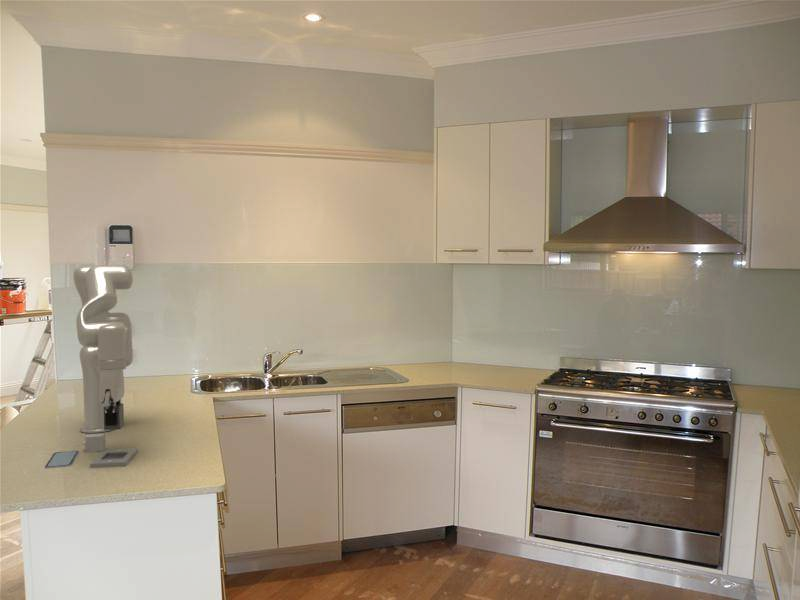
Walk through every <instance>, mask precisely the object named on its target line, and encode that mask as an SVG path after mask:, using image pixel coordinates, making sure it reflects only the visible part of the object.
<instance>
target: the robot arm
mask: <svg viewBox="0 0 800 600" xmlns="http://www.w3.org/2000/svg"><path fill="white" fill-rule="evenodd" d="M133 279H134V278H133V273H132V270H131V268H130V267H129V266H127V265H126V264H125V265H124V264H123V265H119V264H118V265H117V264H112V265H111V264H110V265H109V264H108V265H107V264H105V265H103V264H102V265H101V264H100V265H81V266H78V267H76V268H75V269H74V271H73V282H74V285H75V289H76V291H77V294H79V298H80V301H81V308H80V309H79V311H78V313H77V316H76V319H75V320H76V321H75V322H76V323H75V325H76V333H77V340H78V343H79V344H80V345H81V346H82V347H81V349H80V350H79V360H80V365H81V372H82V381H83V382H82V384H83V386H82V387H83V410H84V413H83V415H84V416H83V417H84V424H83V425H81V426H79V431H80V432H81V433H85V434H101V433H106V432H110V431H112V430H104V407H105V424H106V426H115V425H117V412H116V404H122V398H124V396H125V378H124V370H126V368H127V367H129V366H130V365H131V364H132V362H133V356H134V355H133V338H132V337H133V336H132V335H133V334H132V332H133V331H132V322H131V319H130V316H129V315H128V314H127V313H125V312H110V311H111V310H112V309H113V308H115V307H116V306H117V304H118V295H117V291H116V290H129V289H131V288H132V285H133V282H134V281H133ZM110 404H113V407H112V405H110Z"/></svg>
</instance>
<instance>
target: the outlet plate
mask: <svg viewBox="0 0 800 600" xmlns="http://www.w3.org/2000/svg"><path fill="white" fill-rule="evenodd" d="M138 449H139V448H138V447H136V448H135V447H134V448H133V447H131V448H110V449H108V448H107V449H104V450H103V451H102V452H101V453H100V454H98V455H97V456H96V458H95V459H93V461H91V462H90V464H89V467H90V468H109V467H111V468H114V467H127V465H128V464H129V463H130V462H131V460H132V459H133V458H134V457H135V455H136V454H138V452H139V450H138Z"/></svg>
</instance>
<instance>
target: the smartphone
mask: <svg viewBox="0 0 800 600" xmlns="http://www.w3.org/2000/svg"><path fill="white" fill-rule="evenodd" d="M79 453H80V450H77V449H76V450H65V451H56V452H54V453H52V455H51V456H50V458H49V460H48V461H47V463H46V464H45V465H44V469H55V468H56V467H57V468H65V467H67V466H68V467H71V466H73V464H74V462H75V460H76V459H75V458H77V457H78V455H79Z"/></svg>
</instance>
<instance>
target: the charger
mask: <svg viewBox="0 0 800 600" xmlns="http://www.w3.org/2000/svg"><path fill="white" fill-rule="evenodd" d="M121 403H122V402H121ZM110 405H112V407H113V404H110ZM124 409H125V408H124V403H122V404H116V412H117V425H115V426H106V424H105V407H104V430H111V431H113V430H121V429H122V428H124V426H125V417H124V414H125V412H124Z"/></svg>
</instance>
